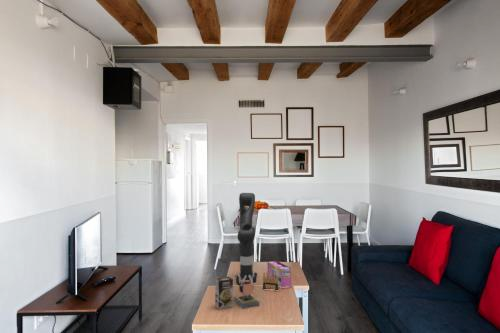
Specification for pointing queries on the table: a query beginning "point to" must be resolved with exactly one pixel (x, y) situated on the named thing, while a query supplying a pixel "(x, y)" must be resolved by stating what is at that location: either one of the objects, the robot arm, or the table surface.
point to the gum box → (280, 273)
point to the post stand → (246, 301)
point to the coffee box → (224, 292)
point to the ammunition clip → (270, 281)
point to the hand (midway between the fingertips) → (246, 291)
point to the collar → (247, 288)
